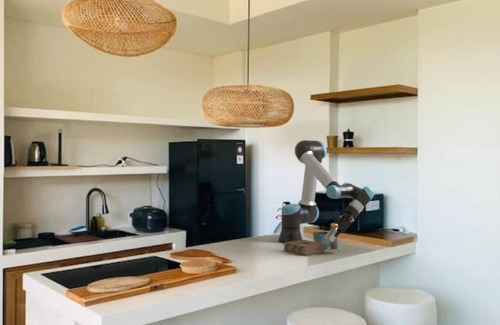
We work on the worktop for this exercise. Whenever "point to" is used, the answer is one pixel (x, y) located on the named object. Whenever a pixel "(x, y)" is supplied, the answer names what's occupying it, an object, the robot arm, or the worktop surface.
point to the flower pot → (321, 238)
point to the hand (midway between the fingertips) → (328, 239)
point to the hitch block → (304, 247)
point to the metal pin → (335, 243)
